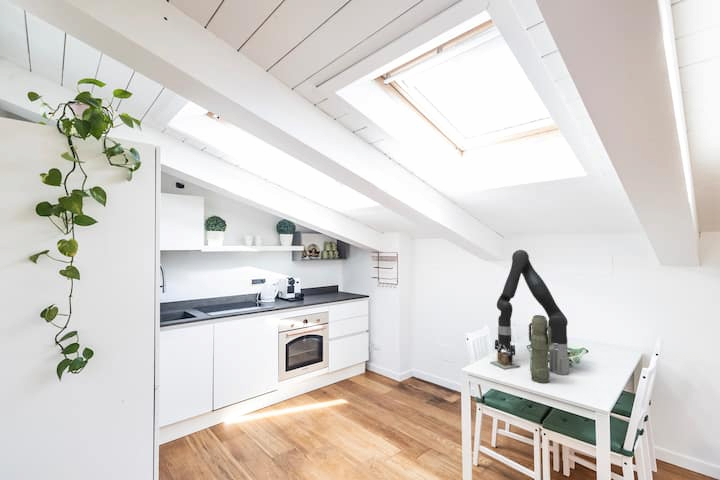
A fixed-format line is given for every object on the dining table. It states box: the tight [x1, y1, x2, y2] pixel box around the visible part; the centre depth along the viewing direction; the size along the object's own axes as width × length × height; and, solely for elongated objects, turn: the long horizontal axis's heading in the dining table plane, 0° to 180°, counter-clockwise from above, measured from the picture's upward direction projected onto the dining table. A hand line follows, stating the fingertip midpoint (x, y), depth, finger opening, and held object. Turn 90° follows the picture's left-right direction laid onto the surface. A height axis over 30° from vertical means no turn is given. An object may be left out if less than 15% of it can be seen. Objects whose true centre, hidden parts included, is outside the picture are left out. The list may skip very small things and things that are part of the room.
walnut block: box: [496, 351, 513, 366], centre depth 211 cm, size 6×6×6 cm
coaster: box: [489, 360, 521, 371], centre depth 211 cm, size 12×12×1 cm
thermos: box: [528, 314, 551, 384], centre depth 188 cm, size 9×12×35 cm
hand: (504, 359), depth 211 cm, fingers open, 8 cm apart
